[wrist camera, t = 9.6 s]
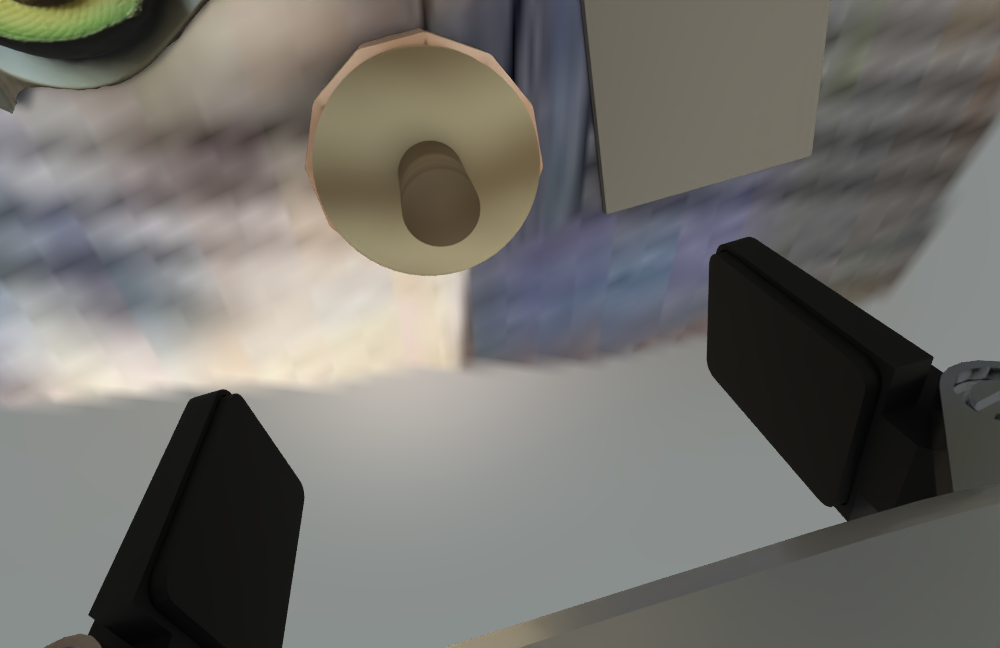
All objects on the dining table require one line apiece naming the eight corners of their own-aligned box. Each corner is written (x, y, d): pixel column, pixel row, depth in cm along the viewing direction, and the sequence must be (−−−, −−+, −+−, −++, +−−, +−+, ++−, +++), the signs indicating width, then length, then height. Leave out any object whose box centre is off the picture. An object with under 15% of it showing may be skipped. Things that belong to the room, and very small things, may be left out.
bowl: (283, 63, 26) (264, 74, 21) (494, 7, 26) (516, 7, 22) (362, 256, 32) (359, 294, 28) (532, 208, 32) (555, 238, 28)
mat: (575, -51, 26) (579, -52, 25) (836, -120, 26) (845, -122, 26) (603, 211, 33) (606, 214, 33) (805, 153, 34) (811, 155, 33)
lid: (274, 81, 22) (240, 105, 16) (509, 16, 22) (548, 19, 17) (364, 289, 27) (360, 355, 22) (550, 234, 28) (588, 286, 23)
